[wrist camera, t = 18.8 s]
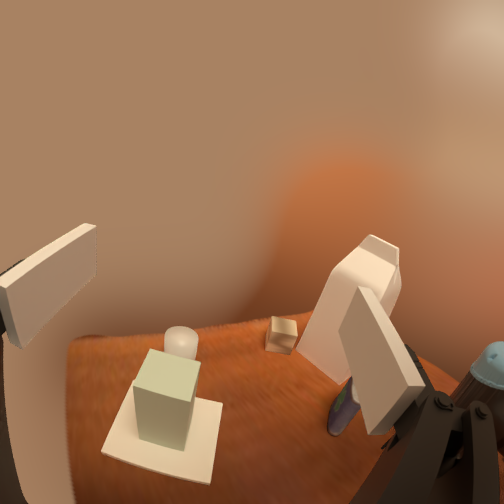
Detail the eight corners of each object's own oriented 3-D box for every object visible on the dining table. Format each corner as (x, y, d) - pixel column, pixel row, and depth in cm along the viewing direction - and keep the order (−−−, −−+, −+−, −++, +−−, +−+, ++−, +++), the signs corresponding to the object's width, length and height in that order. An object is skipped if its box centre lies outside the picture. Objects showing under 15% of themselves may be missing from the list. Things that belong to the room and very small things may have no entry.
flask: (339, 438, 36) (372, 397, 32) (322, 433, 37) (353, 390, 33) (348, 400, 45) (375, 358, 41) (333, 395, 45) (359, 352, 41)
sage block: (192, 417, 35) (201, 362, 31) (183, 451, 30) (190, 401, 25) (151, 406, 35) (150, 348, 30) (139, 439, 29) (132, 385, 25)
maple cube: (288, 339, 59) (296, 321, 57) (289, 355, 54) (297, 336, 52) (265, 335, 59) (271, 316, 57) (265, 350, 54) (271, 331, 52)
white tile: (222, 406, 39) (222, 403, 39) (209, 485, 26) (210, 483, 26) (134, 382, 39) (133, 379, 38) (101, 453, 26) (100, 451, 25)
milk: (295, 349, 56) (340, 228, 46) (327, 333, 64) (369, 227, 54) (339, 385, 48) (402, 260, 38) (367, 362, 56) (421, 253, 46)
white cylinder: (195, 365, 46) (201, 330, 43) (189, 386, 41) (194, 351, 38) (167, 358, 46) (170, 322, 43) (159, 378, 41) (160, 342, 38)
